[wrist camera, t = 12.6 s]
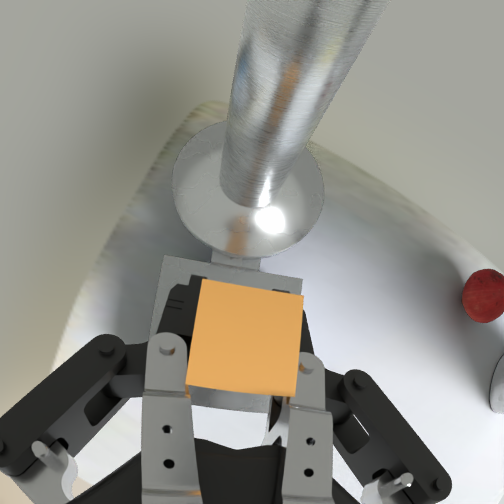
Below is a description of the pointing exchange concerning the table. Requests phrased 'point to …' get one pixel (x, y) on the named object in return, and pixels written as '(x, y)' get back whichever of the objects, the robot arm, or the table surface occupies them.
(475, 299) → the pomegranate
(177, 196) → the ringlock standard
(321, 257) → the table surface
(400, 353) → the table surface
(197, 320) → the orange block
